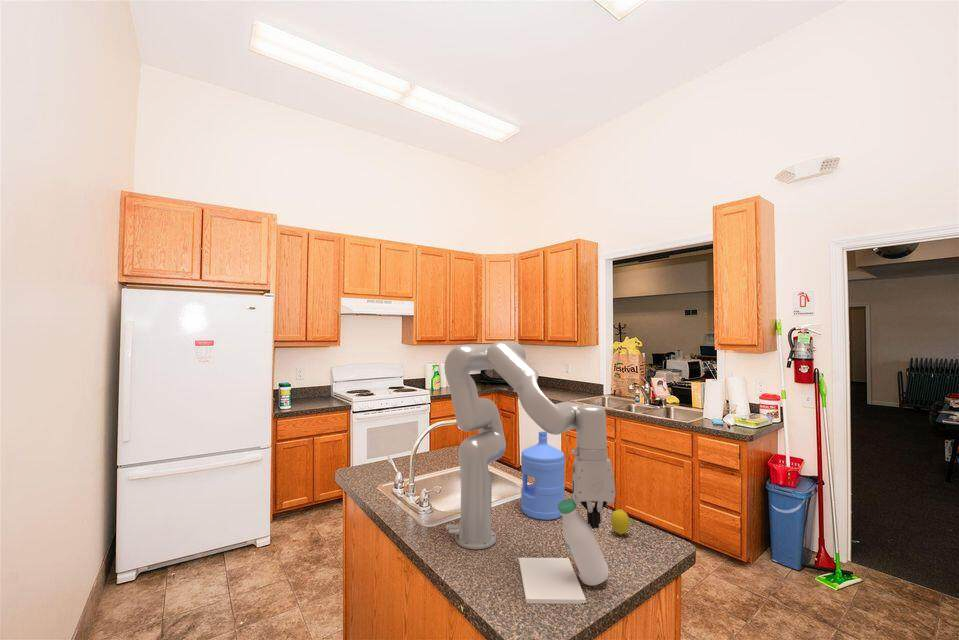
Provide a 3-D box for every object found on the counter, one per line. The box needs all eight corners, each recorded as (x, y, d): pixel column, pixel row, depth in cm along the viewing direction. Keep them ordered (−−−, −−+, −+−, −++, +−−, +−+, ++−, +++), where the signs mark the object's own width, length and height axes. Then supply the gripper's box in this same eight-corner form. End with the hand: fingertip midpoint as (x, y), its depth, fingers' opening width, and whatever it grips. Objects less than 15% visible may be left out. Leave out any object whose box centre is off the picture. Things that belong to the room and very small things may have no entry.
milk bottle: (614, 567, 104) (585, 494, 105) (601, 589, 99) (570, 512, 99) (588, 563, 110) (560, 494, 110) (575, 584, 104) (546, 511, 104)
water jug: (563, 504, 153) (563, 428, 154) (566, 522, 137) (566, 438, 139) (521, 501, 155) (522, 427, 156) (519, 519, 140) (520, 436, 141)
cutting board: (526, 603, 95) (526, 599, 95) (518, 561, 113) (518, 557, 113) (585, 604, 95) (585, 599, 95) (568, 561, 113) (568, 558, 113)
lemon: (621, 529, 133) (621, 504, 133) (633, 537, 128) (633, 511, 128) (607, 532, 131) (607, 506, 131) (619, 540, 126) (619, 513, 126)
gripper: (566, 458, 102) (568, 533, 101) (625, 457, 102) (628, 532, 101) (560, 450, 109) (561, 520, 108) (615, 449, 109) (617, 519, 108)
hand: (594, 526), depth 104 cm, fingers closed
